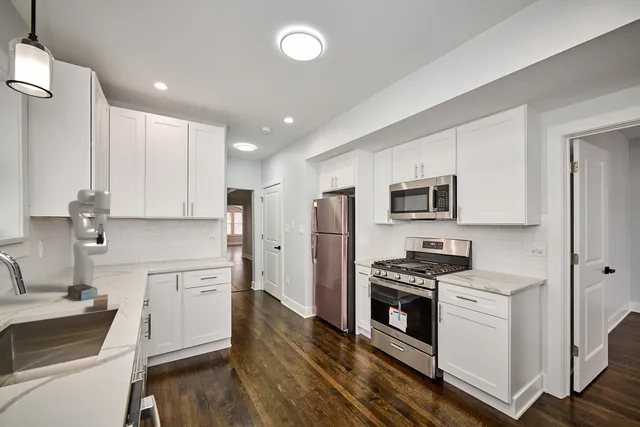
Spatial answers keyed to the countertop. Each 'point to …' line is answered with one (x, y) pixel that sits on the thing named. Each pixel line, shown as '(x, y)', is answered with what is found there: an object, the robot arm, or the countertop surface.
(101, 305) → the wooden block
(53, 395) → the countertop surface
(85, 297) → the beverage carton
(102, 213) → the robot arm
